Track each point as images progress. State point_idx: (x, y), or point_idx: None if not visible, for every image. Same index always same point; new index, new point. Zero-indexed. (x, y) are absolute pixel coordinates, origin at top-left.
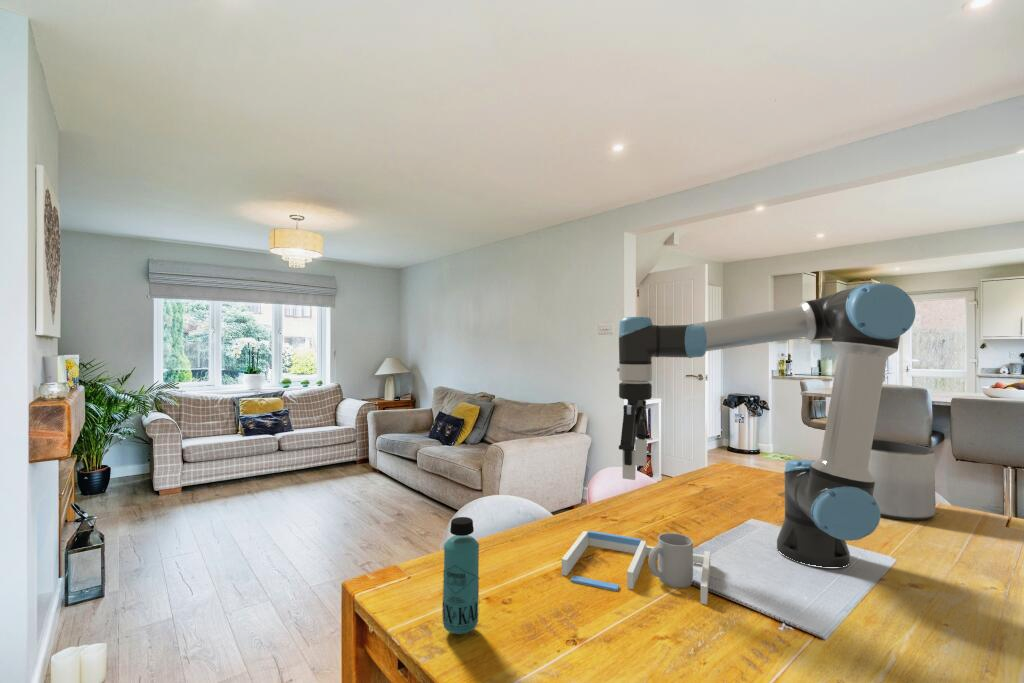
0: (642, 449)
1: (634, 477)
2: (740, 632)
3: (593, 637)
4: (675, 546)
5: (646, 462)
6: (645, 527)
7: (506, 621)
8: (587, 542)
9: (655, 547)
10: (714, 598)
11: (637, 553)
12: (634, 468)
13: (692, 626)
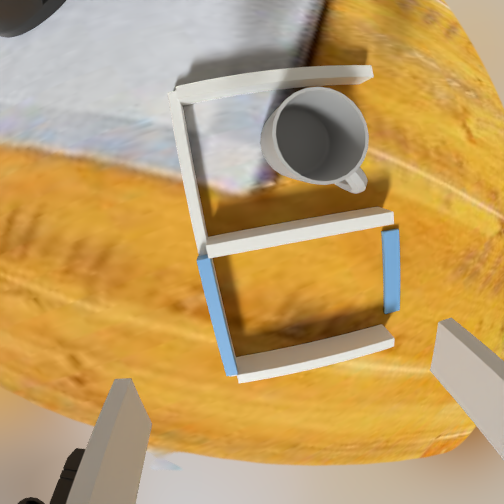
0: (115, 470)
1: (457, 324)
2: (402, 30)
3: (496, 212)
4: (366, 125)
5: (115, 391)
6: (60, 293)
7: (495, 311)
8: (242, 360)
9: (362, 179)
10: (325, 63)
11: (296, 236)
12: (484, 346)
13: (428, 93)
